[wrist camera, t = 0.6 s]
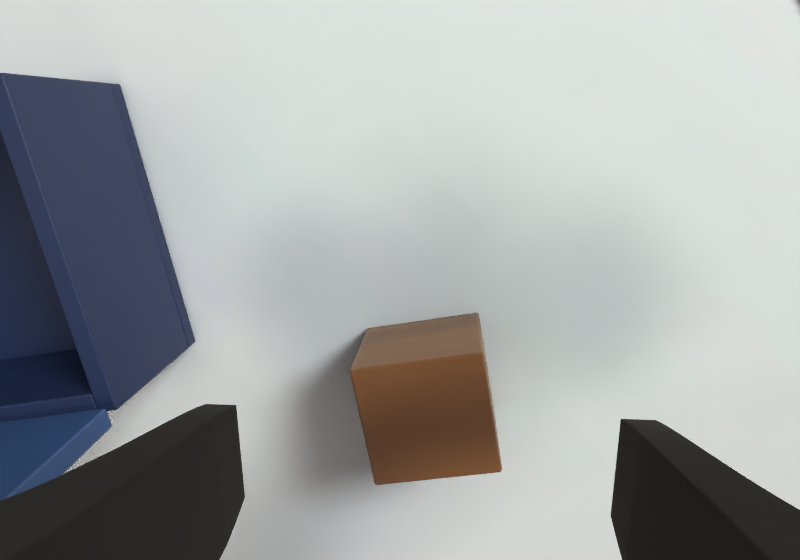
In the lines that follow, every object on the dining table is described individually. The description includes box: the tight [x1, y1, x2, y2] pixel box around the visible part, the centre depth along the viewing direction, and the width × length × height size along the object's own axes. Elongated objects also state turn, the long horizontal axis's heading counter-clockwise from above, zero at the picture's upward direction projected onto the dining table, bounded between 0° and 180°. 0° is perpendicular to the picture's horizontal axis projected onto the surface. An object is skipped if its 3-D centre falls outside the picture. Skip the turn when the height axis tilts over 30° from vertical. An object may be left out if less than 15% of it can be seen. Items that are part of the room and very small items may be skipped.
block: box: [350, 313, 502, 485], centre depth 19 cm, size 4×4×4 cm
